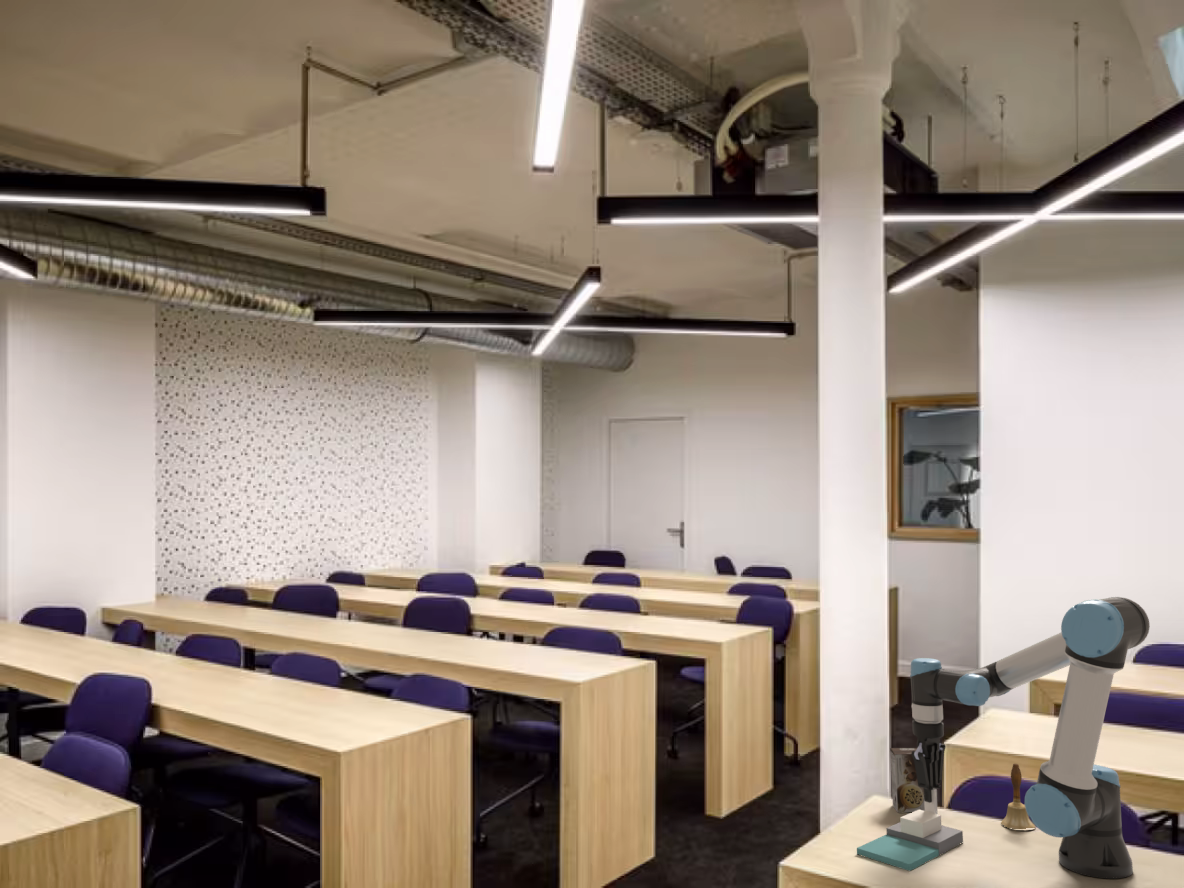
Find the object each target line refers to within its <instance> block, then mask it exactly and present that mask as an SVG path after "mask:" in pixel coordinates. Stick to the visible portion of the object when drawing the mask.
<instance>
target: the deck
mask: <svg viewBox="0 0 1184 888" xmlns="http://www.w3.org/2000/svg"><path fill="white" fill-rule="evenodd" d="M941 827H942V829H941V830H939V831H937V832H935V833H933V834H931V835H929V836H926V837H924V838H921V837H917V836H914V835H910V834H907V833H903V832H901V824H900V821H899V822H897V823H895V824H893V825H890V826H888V827H886V834H887V835H890V836H894V837H897V838H901V839H904V840H907V841H911V842H914V843H918V844H921V845H925V846H928V847H932V848H935V849H938V850H939V856H941V855H943V854H945V853H947V852H949V851H951V850H952V848H953V849H954V847H955V846H956V847H958V846H960V845H961V844H960V843H962V842H963V843H964V831H963V830H961V829H957V828H953V827H950V826H945V825H942V824H941ZM963 843H962V844H963ZM959 844H960V845H959ZM957 845H958V846H957ZM956 847H955V848H956ZM950 849H951V850H950ZM948 850H949V851H948ZM946 851H947V852H946ZM942 853H943V854H942ZM940 854H941V855H940Z"/></svg>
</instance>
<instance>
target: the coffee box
mask: <svg viewBox="0 0 1184 888" xmlns="http://www.w3.org/2000/svg"><path fill="white" fill-rule="evenodd" d="M889 749H890V751H889V752H890V772H891V791H892V793H891V794H892V795H891V796H892V799H891V800H892V806H893V808H894V810H895V811H896V812H897V813H898V814H899V813H900V812H901V813H902V812H914V811H917V810H923V811H925V805H924V788H922V787H919V786H918V781H917V775H916V769H915V763H914V759H913V757H912V751H916V750H917V747H890V748H889ZM901 813H900V814H901Z"/></svg>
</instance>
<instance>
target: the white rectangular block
mask: <svg viewBox="0 0 1184 888" xmlns="http://www.w3.org/2000/svg"><path fill="white" fill-rule="evenodd" d="M899 820H900V821H899V822H900V824H901V832H903V833H907V834H910V835H914V836H917V837H921V838H924V837H926V836H929V835H931V834H933V833H935V832H937V831H939V830H941V829H942V827H941V825H942V814H939V813H938V814H935V813H931V812H927V811H923V810H917V811H914V812H912V813H906V814H905V815H903V816H900V817H899Z"/></svg>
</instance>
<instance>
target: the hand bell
mask: <svg viewBox="0 0 1184 888" xmlns="http://www.w3.org/2000/svg"><path fill="white" fill-rule="evenodd" d="M1022 780H1023V779H1022V772H1021V769H1020V766H1019V764H1018V763H1013V764H1012V768H1011V771H1010V781H1011V784H1012V789H1013V793H1012V795H1013V798H1012V799H1013V800H1012V802H1009V803H1008V805H1007V810H1006V816H1005V817H1004V818H1003V819H1002V820H1001V822H1000V825H1001V824H1002V825H1004V826H1005V827H1007V828H1006V829H1008V828H1012V829H1026V828H1035V829H1036V826H1035V824H1034V823H1033V822H1032V820H1031V818H1030V816H1028V814H1027V811H1026V808H1025V803H1024V804H1023V803H1022V802H1021V790H1020V789H1021V786H1022ZM1002 825H1001V826H1002ZM1005 827H1004V828H1005Z"/></svg>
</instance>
